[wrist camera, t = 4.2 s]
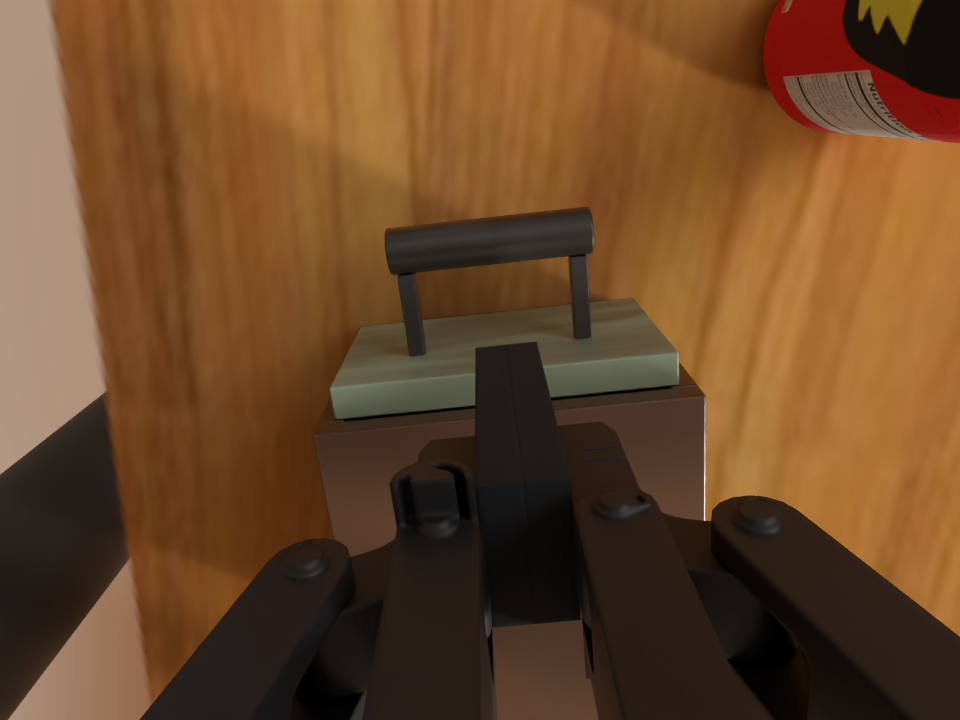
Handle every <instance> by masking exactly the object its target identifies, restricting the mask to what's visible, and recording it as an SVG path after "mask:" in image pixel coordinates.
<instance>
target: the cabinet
mask: <svg viewBox="0 0 960 720" xmlns="http://www.w3.org/2000/svg"><path fill="white" fill-rule="evenodd" d="M635 391H636V392H633V393H623V394H613V395H603V396H593V397H583V398H573V399H564V400H554V401H552V405H553V409H554V413H555V417H556V421H557V425H558V426H560V425H570V424H581V423H591V422H603V423H604V424H606V425H607V426H608V427H610V428H611V429H613V430H614V431H616V433H617V435H618V438H619V440H620V442H621V445H622V447H623V449H624V452H625V454H626V458H627V459H628V461H629V464H630V466H631V468H632V471H633V473H634V475H635V478H636V480H637V483H638V485H639V487H640V490H642V491H644V492H646V493H648V494H650V495H651V496H652V497H653V498H654V499H655V501H656V502H657V503H658V505H659V507H660V510H661V512H663V513H665V514H668V515H672V516H675V517H679V518H685V519H692V520H702V521H705V495H706V396H705V394H704V393H703V392H702V390H701V389H700V388H699V387H698V385H697V384H696V382H695V381H694V380H693V379H692V377H691V376H690V375H689V374H688V372H687V371H686V370H685V369H684V367H683V366H682V365H681V364H680V362H679V384H678V385H673V386H663V387H653V388H643V389H635ZM467 436H475V409H465V410H455V411H445V412H436V413H426V414H416V415H406V416H396V417H386V418H378V416H368V417H358V418H348V419H338V420H337V419H336V418H335V416H334V411H333V406H332V400H331V397H330V399H329V401H328V403H327V405H326V407H325V409H324V411H323V413H322V416H321V418H320V420H319V422H318V425H317V427H316V429H315V431H314V433H313V436H312V438H313V443H314V447H315V452H316V457H317V462H318V466H319V471H320V476H321V481H322V485H323V490H324V495H325V500H326V504H327V509H328V514H329V518H330V523H331V528H332V533H333V537H334V540H336V541H339V542H341V543H342V544H343V545H345V546H346V547H347V548H348V551H349V554H350V557H352V556H356V555H359V554H362V553H366V552H369V551H372V550H374V549H377V548H380V547H382V546H384V545H386V544H387V543H389V542H391V541H392V540H394V539H395V536H396V530H397V526H396V520H395V514H394V509H393V503H392V497H391V491H390V485H389V483H390V481H391V479H392V478H393V476H394V475H395V474H396V473H397V472H399V471H400V470H401V469H403V468H404V467H407V466H409V465H412V464H414V463H417V462H418V457H419V452H420V451H421V450H422V449H423V448H424V447H425V446H426V445H427V444H428V443H429V442H430V441H431V440H436V439H447V438H457V437H467ZM580 615H581V610H580ZM492 631H493V639H494V647H495V666H496V693H497V720H599V719H598V714H597V709H596V704H595V699H594V694H593V688H592V683H591V679H586V670H585V656H584V642H583V627H582V615H581V620H575V621H564V622H552V623H541V624H530V625H519V626H508V627H496V628H492Z"/></svg>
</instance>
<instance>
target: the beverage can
mask: <svg viewBox="0 0 960 720" xmlns="http://www.w3.org/2000/svg"><path fill="white" fill-rule="evenodd" d="M763 60H764V70H765V75H766V79H767V83H768V85H769V88H770V90H771V92H772V94H773V96H774V98H775V100H776V101H777V103H778V104H779V105H780V106H781V108H782V109H783V110H784V111H785V112H786V113H787V114H788V115H789V116H790V117H791V118H793V119H794V120H795V121H797V122H799V123H800V124H802V125H804V126H806V127H809V128H811V129H814V130H818V131H823V132H833V133H845V134H856V135H868V136H880V137H892V138H904V139H916V140H927V141H939V142H951V143H960V0H779V2H778V3H777V5H776V7H775V9H774V11H773V13H772V16H771V19H770V21H769V24H768V28H767V31H766V36H765V41H764V53H763Z"/></svg>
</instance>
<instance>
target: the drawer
mask: <svg viewBox="0 0 960 720" xmlns="http://www.w3.org/2000/svg"><path fill="white" fill-rule="evenodd" d="M593 249H594V226H593V219H592V214H591V211H590V209H589V207H579V208H570V209H561V210H552V211H543V212H534V213H524V214H515V215H506V216H497V217H488V218H479V219H469V220H460V221H451V222H442V223H433V224H424V225H415V226H405V227H396V228H388V229H386V231H385V251H386V258H387V263H388V267H389V270H390V272H391V274H392V275H398V277H397V278H398V285H399V292H400V298H401V305H402V311H403V318H404V322H398V323H389V324H380V325H370V326H362V327H360V329H359V331H358V333H357V335H356V337H355V339H354V341H353V343H352V345H351V347H350V349H349V351H348V353H347V355H346V357H345V359H344V361H343V363H342V365H341V367H340V369H339V371H338V373H337V375H336V377H335V379H334V381H333V383H332V385H331V387H330V389H329V390H330V395H331V400H332V406H333V411H334V416H335V418H336V419H337V420H338V419H348V418H358V417H368V416H378V418H386V417H396V416H406V415H416V414H426V413H436V412H445V411H455V410H465V409H475V348H478V347H488V346H497V345H507V344H517V343H527V342H536V341H537V345H538V349H539V353H540V357H541V361H542V365H543V369H544V373H545V377H546V381H547V385H548V389H549V393H550V397H551V401H554V400H564V399H573V398H583V397H593V396H603V395H613V394H623V393H633V392H636V391H635V389H643V388H653V387H663V386H673V385H678V384H679V353H678V351H677V350H676V349H675V348H674V347H673V345H672V344H671V343H670V342H669V341H668V339H667V338H666V337H665V336H664V334H663V333H662V332H661V331H660V330H659V328H658V327H657V326H656V325H655V324H654V322H653V321H652V320H651V319H650V317H649V316H648V315H647V314H646V313H645V311H644V310H643V309H642V308H641V307H640V305H639V304H638V303H637V302H636V300H635V299H634V298H626V299H617V300H607V301H598V302H590V297H589V278H588V260H587V255H586V254H591V253H592V252H593ZM566 256H568V261H569V277H570V292H571V304H569V305H560V306H550V307H541V308H531V309H522V310H512V311H503V312H493V313H484V314H474V315H465V316H455V317H446V318H436V319H427V320H422V315H421V308H420V301H419V294H418V287H417V280H416V273H417V272H426V271H435V270H445V269H454V268H463V267H473V266H482V265H491V264H501V263H510V262H519V261H528V260H538V259H547V258H556V257H566Z"/></svg>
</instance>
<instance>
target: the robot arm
mask: <svg viewBox="0 0 960 720" xmlns="http://www.w3.org/2000/svg"><path fill="white" fill-rule="evenodd" d="M389 485H390V491H391V497H392V503H393V509H394V514H395V520H396V526H397V530H396V536H395V539H394V540H392V541H391V542H389V543H387V544H386V545H384V546H382V547H380V548H377V549H374V550H372V551H369V552H366V553H362V554H359V555H356V556H352V557H350V554H349V551H348V548H347V547H346V546H345V545H343V544H342V543H341V542H339V541H336V540H331V539H326V538H323V539H309V540H304V541H302V542H298V543H295V544H293V545H291V546H289V547H287V548H285V549H283V550H281V551H279V552H278V553H277V554H276V555H275V556H274V557H272V558H271V559H270V560H269V561H268V562H267V563H266V564H265V566H264V567H263V568H262V569H261V571H260V572H259V573H258V574H257V576H256V577H255V578H254V579H253V580H252V582H251V583H250V584H249V585H248V587H247V588H246V589H245V590H244V592H243V593H242V594H241V595H240V597H239V598H238V599H237V600H236V601H235V603H234V604H233V605H232V606H231V608H230V609H229V610H228V611H227V613H226V614H225V615H224V616H223V618H222V619H221V620H220V621H219V622H218V624H217V625H216V626H215V627H214V629H213V630H212V631H211V632H210V634H209V635H208V636H207V637H206V639H205V640H204V641H203V642H202V643H201V645H200V646H199V647H198V648H197V650H196V651H195V652H194V653H193V655H192V656H191V657H190V658H189V659H188V661H187V662H186V663H185V664H184V666H183V667H182V668H181V669H180V671H179V672H178V673H177V674H176V676H175V677H174V678H173V679H172V680H171V682H170V683H169V684H168V685H167V687H166V688H165V689H164V690H163V692H162V693H161V694H160V695H159V697H158V698H157V699H156V700H155V701H154V703H153V704H152V705H151V706H150V708H149V709H148V710H147V711H146V713H145V714H144V715H143V716H142V718H141V719H140V720H497V693H496V666H495V647H494V639H493V631H492V628H496V627H508V626H519V625H530V624H541V623H552V622H564V621H575V620H581V615H582V627H583V642H584V656H585V670H586V679H591V683H592V688H593V694H594V699H595V704H596V709H597V714H598V719H599V720H960V637H959V636H958V635H957V634H956V633H954V632H953V631H952V630H950V629H949V628H948V627H947V626H945V625H944V624H943V623H941V622H940V621H939V620H938V619H936V618H935V617H934V616H932V615H931V614H930V613H929V612H927V611H926V610H925V609H923V608H922V607H921V606H920V605H918V604H917V603H916V602H915V601H913V600H912V599H911V598H909V597H908V596H907V595H906V594H904V593H903V592H902V591H900V590H899V589H898V588H897V587H895V586H894V585H893V584H891V583H890V582H889V581H888V580H886V579H885V578H884V577H882V576H881V575H880V574H879V573H877V572H876V571H875V570H873V569H872V568H871V567H870V566H868V565H867V564H866V563H864V562H863V561H862V560H861V559H859V558H858V557H857V556H856V555H854V554H853V553H852V552H850V551H849V550H848V549H847V548H845V547H844V546H843V545H841V544H840V543H839V542H838V541H836V540H835V539H834V538H832V537H831V536H830V535H829V534H827V533H826V532H825V531H823V530H822V529H821V528H820V527H818V526H817V525H816V524H814V523H813V522H812V521H811V520H809V519H808V518H807V517H805V516H804V515H803V514H802V513H800V512H799V511H798V510H796V509H795V508H793V507H791V506H789V505H787V504H786V503H784V502H781V501H778V500H774V499H771V498H767V497H762V496H742V497H733V498H730V499H728V500H725V501H723V502H720V503H719V504H718V505H717V506H716V507H715V508H714V509H713V510H712V518H711V521H702V520H692V519H685V518H679V517H675V516H672V515H668V514H665V513H663V512H661V510H660V507H659V505H658V503H657V502H656V501H655V499H654V498H653V497H652V496H651V495H650V494H648V493H646V492H644V491H642V490H640V487H639V485H638V483H637V480H636V478H635V475H634V473H633V471H632V468H631V466H630V464H629V461H628V459H627V458H626V454H625V452H624V449H623V447H622V445H621V442H620V440H619V438H618V435H617V433H616V431H614V430H613V429H611V428H610V427H608V426H607V425H606V424H604V423H603V422H591V423H581V424H570V425H560V426H558V425H557V421H556V417H555V413H554V409H553V405H552V401H551V397H550V393H549V389H548V385H547V381H546V377H545V373H544V369H543V365H542V361H541V357H540V353H539V349H538V345H537V341H536V342H527V343H517V344H507V345H497V346H488V347H478V348H475V436H467V437H457V438H447V439H436V440H431V441H430V442H429V443H428V444H427V445H426V446H425V447H424V448H423V449H422V450H421V451H420V452H419V457H418V462H417V463H414V464H412V465H409V466H407V467H404V468H403V469H401V470H400V471H399V472H397V473H396V474H395V475H394V476H393V478H392V479H391V481H390V483H389ZM580 610H581V615H580Z"/></svg>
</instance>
